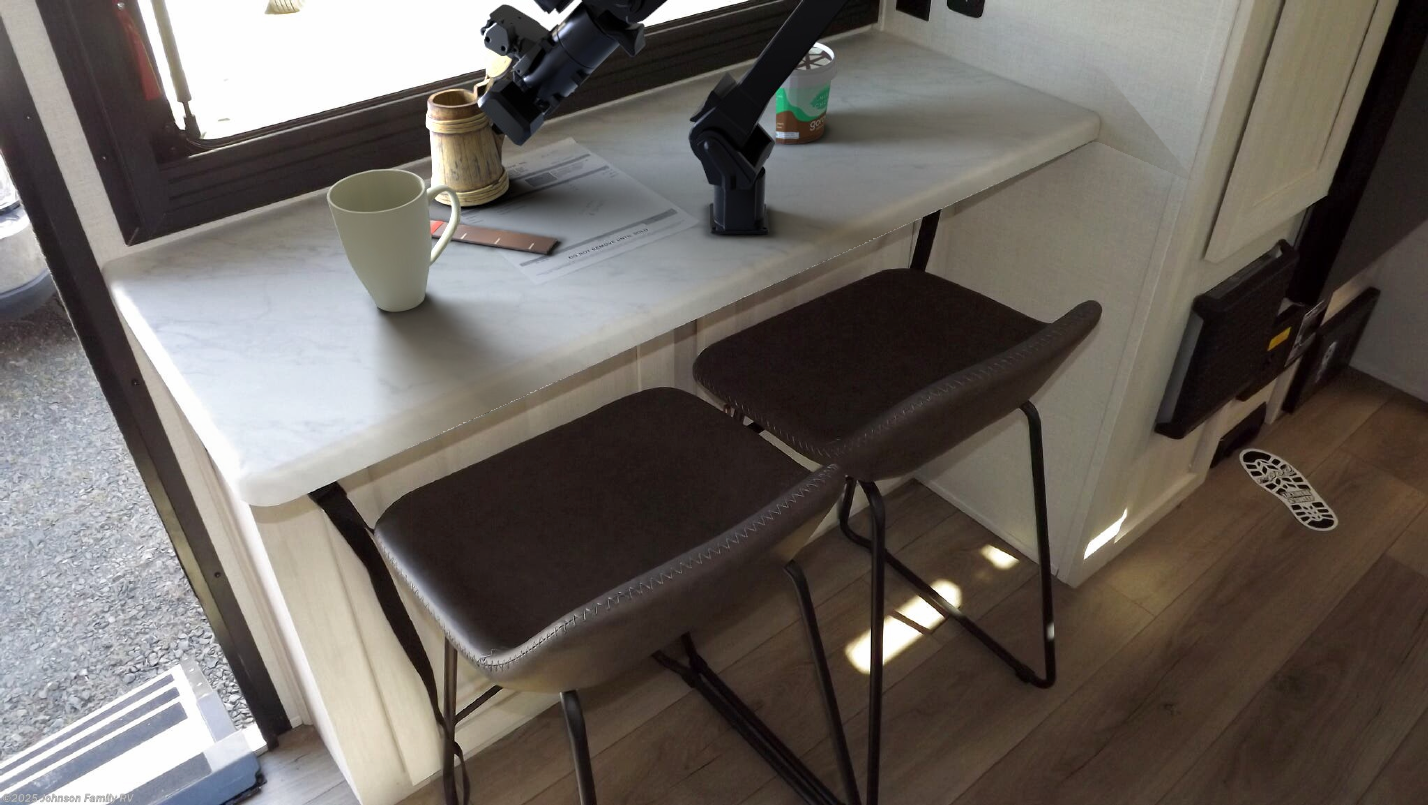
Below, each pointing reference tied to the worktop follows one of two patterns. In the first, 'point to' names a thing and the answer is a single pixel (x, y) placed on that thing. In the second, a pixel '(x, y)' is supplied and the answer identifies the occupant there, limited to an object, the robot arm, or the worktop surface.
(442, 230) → the ruler
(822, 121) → the food container
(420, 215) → the mug
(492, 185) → the wooden mug
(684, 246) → the worktop surface
